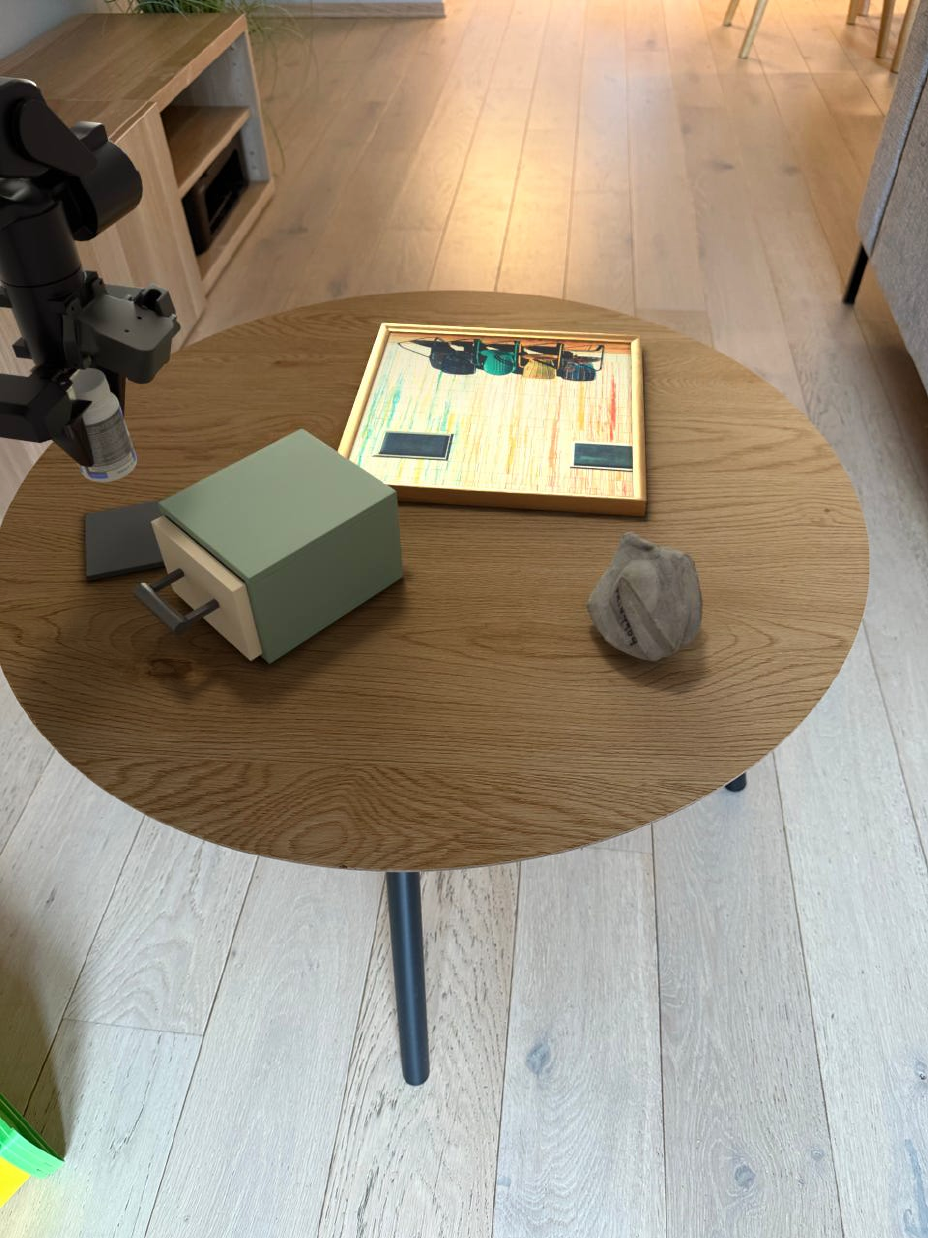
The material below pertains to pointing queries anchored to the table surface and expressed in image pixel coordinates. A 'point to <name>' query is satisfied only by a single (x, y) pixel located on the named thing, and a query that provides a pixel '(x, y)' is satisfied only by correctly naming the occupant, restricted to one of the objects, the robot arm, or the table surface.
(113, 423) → the pill bottle
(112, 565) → the coaster
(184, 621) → the drawer
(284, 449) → the cabinet
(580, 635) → the table surface
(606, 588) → the fossil
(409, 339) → the picture frame
